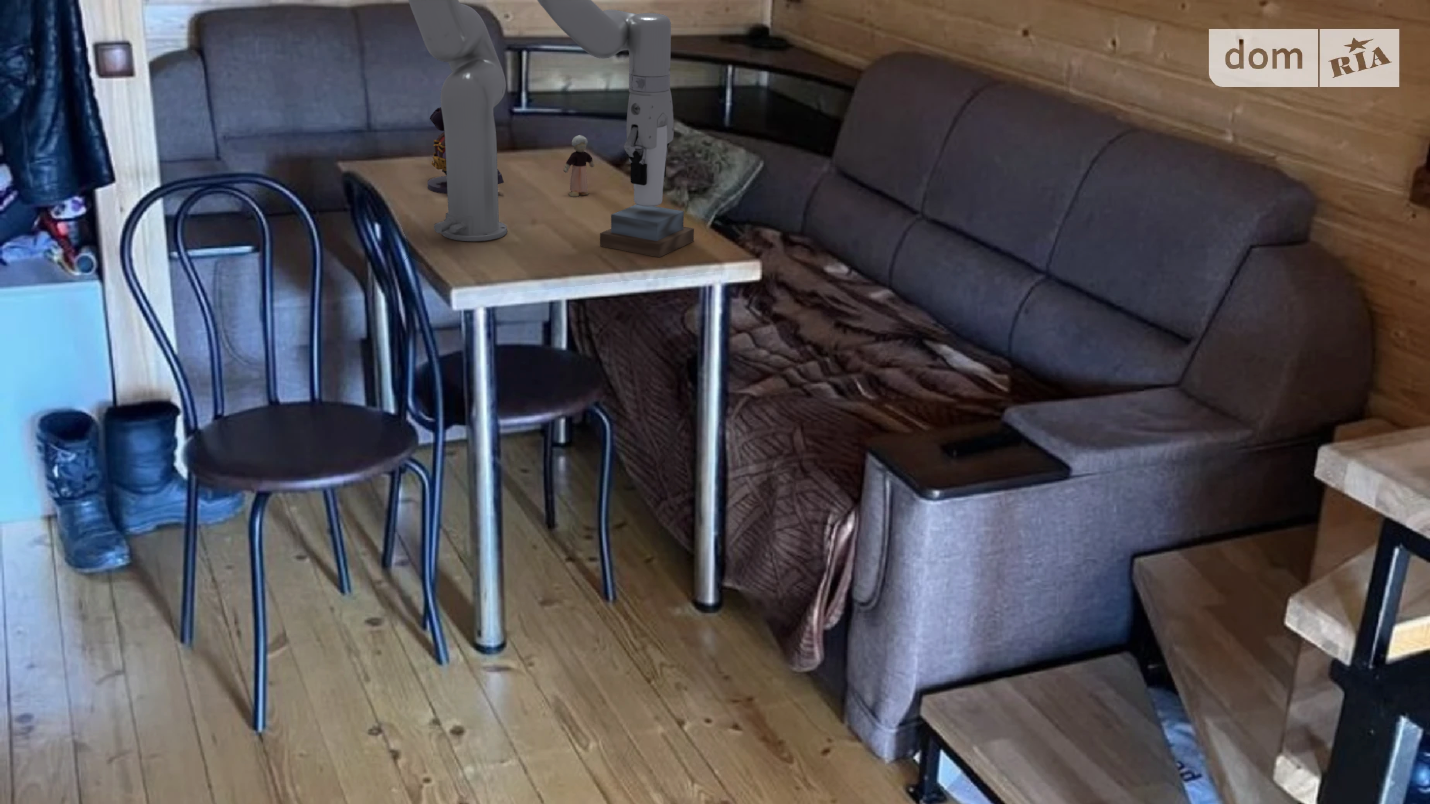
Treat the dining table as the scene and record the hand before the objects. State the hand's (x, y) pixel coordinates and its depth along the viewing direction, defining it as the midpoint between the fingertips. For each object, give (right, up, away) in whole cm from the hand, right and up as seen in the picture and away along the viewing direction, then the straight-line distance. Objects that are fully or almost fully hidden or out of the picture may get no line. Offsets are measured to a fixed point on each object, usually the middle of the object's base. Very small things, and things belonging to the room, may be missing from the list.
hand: (648, 179), depth 269 cm
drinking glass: (0, -4, +2) cm, 5 cm away
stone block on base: (0, -11, +5) cm, 12 cm away
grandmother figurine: (-16, +3, +38) cm, 41 cm away
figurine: (-42, +4, +40) cm, 58 cm away
